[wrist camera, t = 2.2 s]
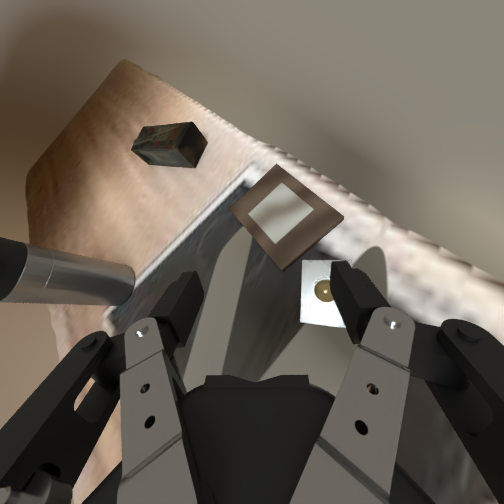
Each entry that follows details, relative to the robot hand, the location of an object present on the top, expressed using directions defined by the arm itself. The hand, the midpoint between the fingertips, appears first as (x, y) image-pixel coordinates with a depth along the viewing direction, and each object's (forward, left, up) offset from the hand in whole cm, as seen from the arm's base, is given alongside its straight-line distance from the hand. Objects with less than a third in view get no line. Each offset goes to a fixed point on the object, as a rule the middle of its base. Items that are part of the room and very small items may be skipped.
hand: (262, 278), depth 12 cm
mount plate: (-9, +11, -19) cm, 24 cm away
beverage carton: (-44, +21, -19) cm, 52 cm away
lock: (+3, +1, -19) cm, 19 cm away
